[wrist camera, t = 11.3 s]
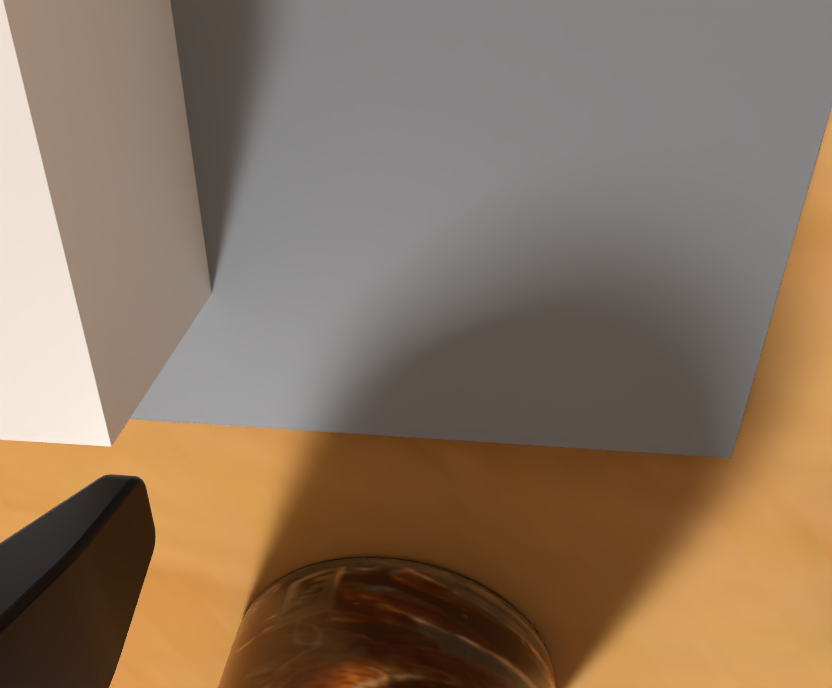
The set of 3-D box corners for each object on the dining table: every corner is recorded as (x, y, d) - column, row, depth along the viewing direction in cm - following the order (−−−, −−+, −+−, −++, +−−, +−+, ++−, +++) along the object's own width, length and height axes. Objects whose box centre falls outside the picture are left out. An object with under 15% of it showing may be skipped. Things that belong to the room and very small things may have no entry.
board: (957, -478, 13) (1009, -516, 11) (717, 423, 22) (731, 458, 21) (-276, -467, 14) (-354, -500, 13) (-9, 378, 23) (-38, 407, 22)
